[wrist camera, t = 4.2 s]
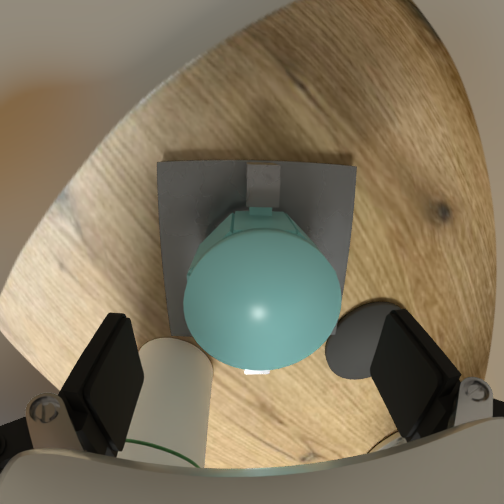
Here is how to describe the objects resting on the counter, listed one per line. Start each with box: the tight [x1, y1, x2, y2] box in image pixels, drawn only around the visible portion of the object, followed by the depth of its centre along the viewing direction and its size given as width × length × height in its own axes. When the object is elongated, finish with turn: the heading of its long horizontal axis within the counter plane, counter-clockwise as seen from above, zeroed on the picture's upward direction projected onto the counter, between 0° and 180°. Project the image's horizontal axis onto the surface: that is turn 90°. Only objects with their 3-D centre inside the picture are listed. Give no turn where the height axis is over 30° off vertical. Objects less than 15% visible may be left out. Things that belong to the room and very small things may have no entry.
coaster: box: [325, 302, 401, 379], centre depth 24 cm, size 8×8×1 cm
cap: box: [183, 207, 341, 371], centre depth 16 cm, size 10×7×5 cm
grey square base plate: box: [157, 160, 357, 374], centre depth 18 cm, size 13×13×7 cm
